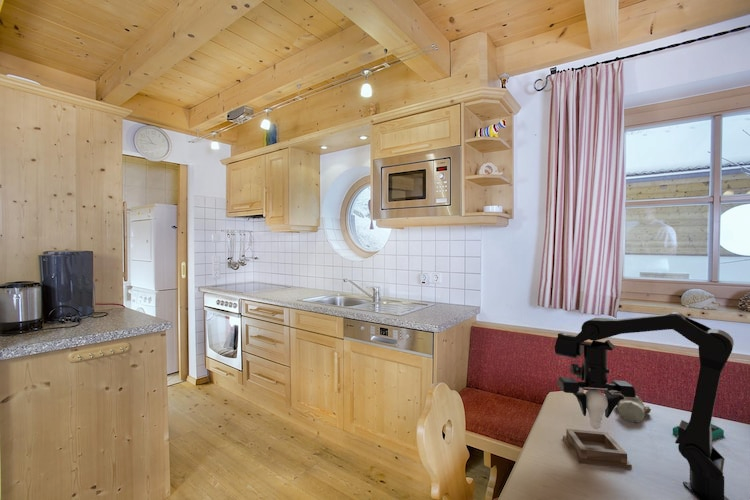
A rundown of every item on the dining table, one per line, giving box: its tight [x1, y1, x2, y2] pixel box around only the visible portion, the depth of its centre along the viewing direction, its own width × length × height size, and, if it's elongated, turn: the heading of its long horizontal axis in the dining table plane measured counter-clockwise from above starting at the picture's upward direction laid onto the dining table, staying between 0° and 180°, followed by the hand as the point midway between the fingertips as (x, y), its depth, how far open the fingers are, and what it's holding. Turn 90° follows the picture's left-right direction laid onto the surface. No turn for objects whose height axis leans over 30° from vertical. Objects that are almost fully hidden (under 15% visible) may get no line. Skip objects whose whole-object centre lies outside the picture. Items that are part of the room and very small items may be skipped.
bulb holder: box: [562, 428, 633, 470], centre depth 102 cm, size 13×13×4 cm
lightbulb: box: [584, 389, 608, 430], centre depth 102 cm, size 6×6×11 cm
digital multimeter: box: [672, 423, 725, 441], centre depth 112 cm, size 7×15×3 cm, turn 114°
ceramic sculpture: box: [616, 395, 652, 423], centre depth 125 cm, size 11×9×15 cm
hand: (595, 416), depth 102 cm, fingers closed on lightbulb, 5 cm apart
